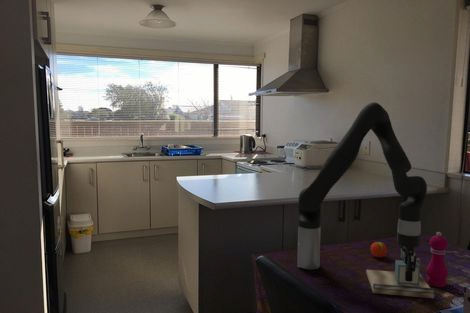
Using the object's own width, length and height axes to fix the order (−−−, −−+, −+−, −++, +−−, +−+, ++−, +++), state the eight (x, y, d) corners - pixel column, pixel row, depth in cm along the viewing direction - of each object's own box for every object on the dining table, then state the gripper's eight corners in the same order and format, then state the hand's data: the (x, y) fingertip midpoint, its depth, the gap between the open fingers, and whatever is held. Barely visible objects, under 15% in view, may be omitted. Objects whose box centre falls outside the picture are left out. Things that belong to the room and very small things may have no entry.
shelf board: (373, 293, 135) (373, 284, 135) (366, 273, 153) (366, 265, 152) (434, 298, 131) (434, 289, 131) (419, 277, 149) (420, 269, 148)
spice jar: (409, 277, 145) (410, 260, 144) (406, 273, 149) (407, 256, 148) (421, 278, 144) (421, 261, 143) (418, 274, 148) (418, 257, 147)
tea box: (394, 278, 140) (395, 260, 139) (415, 280, 139) (416, 261, 138) (397, 284, 135) (398, 265, 135) (419, 285, 134) (420, 266, 133)
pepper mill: (446, 289, 138) (449, 235, 136) (424, 285, 142) (427, 232, 140) (447, 282, 144) (450, 231, 143) (426, 278, 148) (429, 228, 146)
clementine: (389, 260, 167) (390, 245, 166) (374, 260, 167) (374, 244, 167) (383, 254, 175) (383, 239, 174) (368, 254, 175) (368, 239, 175)
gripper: (426, 238, 128) (423, 287, 129) (414, 227, 142) (412, 271, 143) (402, 237, 129) (400, 285, 131) (393, 225, 143) (391, 269, 145)
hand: (406, 277), depth 137 cm, fingers open, 5 cm apart
